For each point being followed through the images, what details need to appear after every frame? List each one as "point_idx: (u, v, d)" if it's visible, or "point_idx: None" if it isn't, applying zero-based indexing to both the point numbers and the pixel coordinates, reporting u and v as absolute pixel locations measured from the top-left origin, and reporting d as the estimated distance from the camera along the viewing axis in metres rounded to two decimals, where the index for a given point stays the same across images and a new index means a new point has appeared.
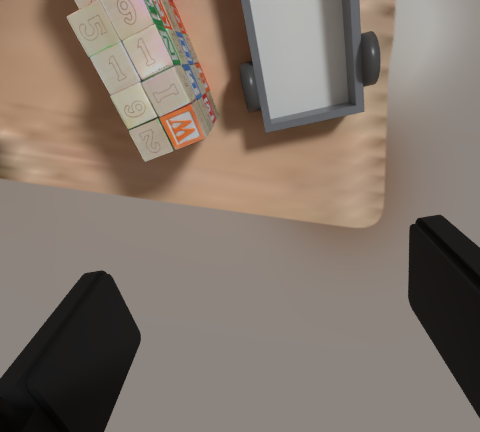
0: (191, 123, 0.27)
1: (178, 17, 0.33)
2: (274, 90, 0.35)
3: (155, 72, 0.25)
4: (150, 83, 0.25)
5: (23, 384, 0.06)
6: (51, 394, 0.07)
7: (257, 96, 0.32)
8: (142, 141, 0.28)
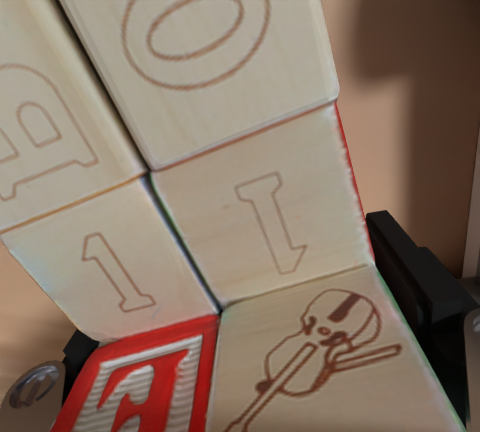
0: None
1: None
2: None
3: None
4: None
5: (89, 348, 0.07)
6: None
7: None
8: None
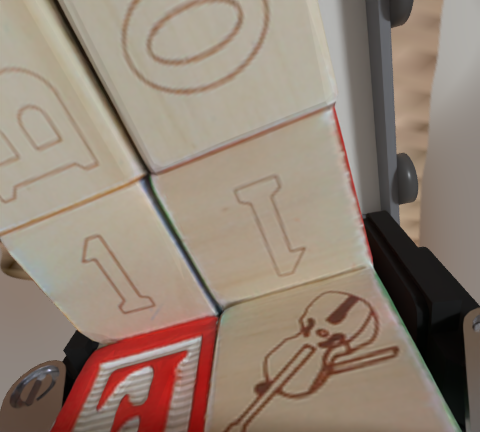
0: None
1: None
2: None
3: None
4: None
5: (89, 348, 0.07)
6: None
7: None
8: None
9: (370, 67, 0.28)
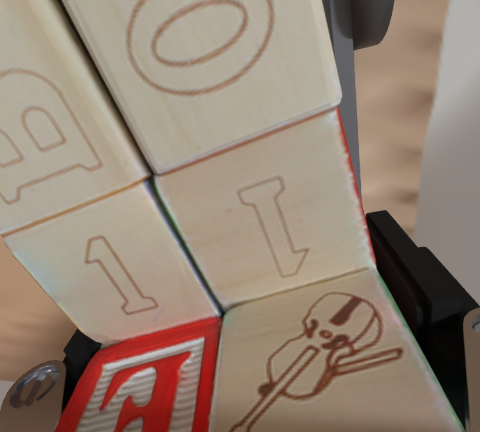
0: None
1: None
2: None
3: None
4: None
5: (89, 348, 0.07)
6: None
7: None
8: None
9: None
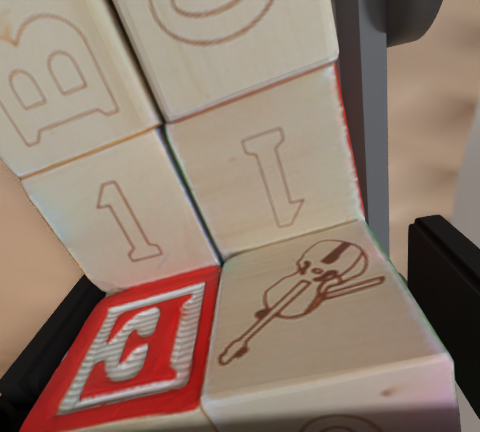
0: None
1: None
2: None
3: None
4: None
5: (25, 383, 0.06)
6: None
7: None
8: None
9: None
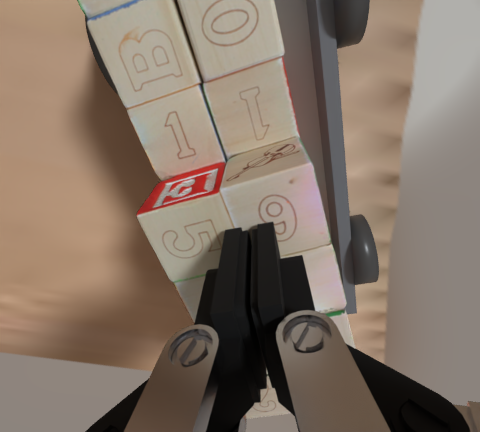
0: None
1: None
2: None
3: None
4: None
5: (234, 312, 0.07)
6: (248, 325, 0.07)
7: None
8: None
9: (317, 100, 0.20)
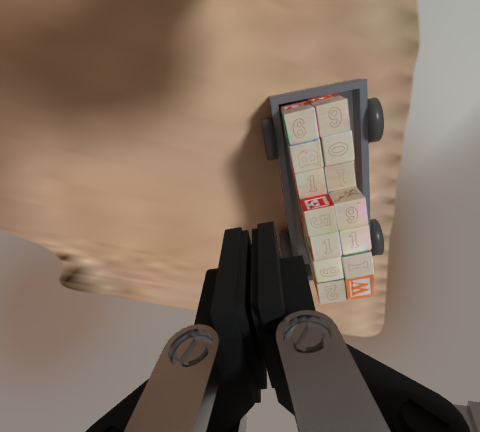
0: (368, 285, 0.34)
1: None
2: (303, 247, 0.47)
3: (355, 252, 0.33)
4: (349, 259, 0.33)
5: (234, 312, 0.07)
6: (248, 325, 0.07)
7: None
8: (325, 291, 0.35)
9: (355, 162, 0.41)
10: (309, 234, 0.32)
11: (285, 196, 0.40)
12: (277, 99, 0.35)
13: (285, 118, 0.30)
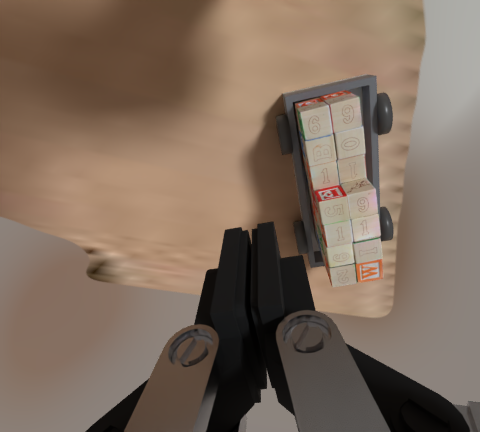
0: (377, 268, 0.37)
1: None
2: None
3: (365, 239, 0.35)
4: (360, 245, 0.36)
5: (234, 312, 0.07)
6: (248, 325, 0.07)
7: (307, 249, 0.46)
8: (336, 275, 0.38)
9: (365, 153, 0.43)
10: (323, 223, 0.35)
11: (299, 188, 0.43)
12: (291, 97, 0.37)
13: (301, 115, 0.32)
